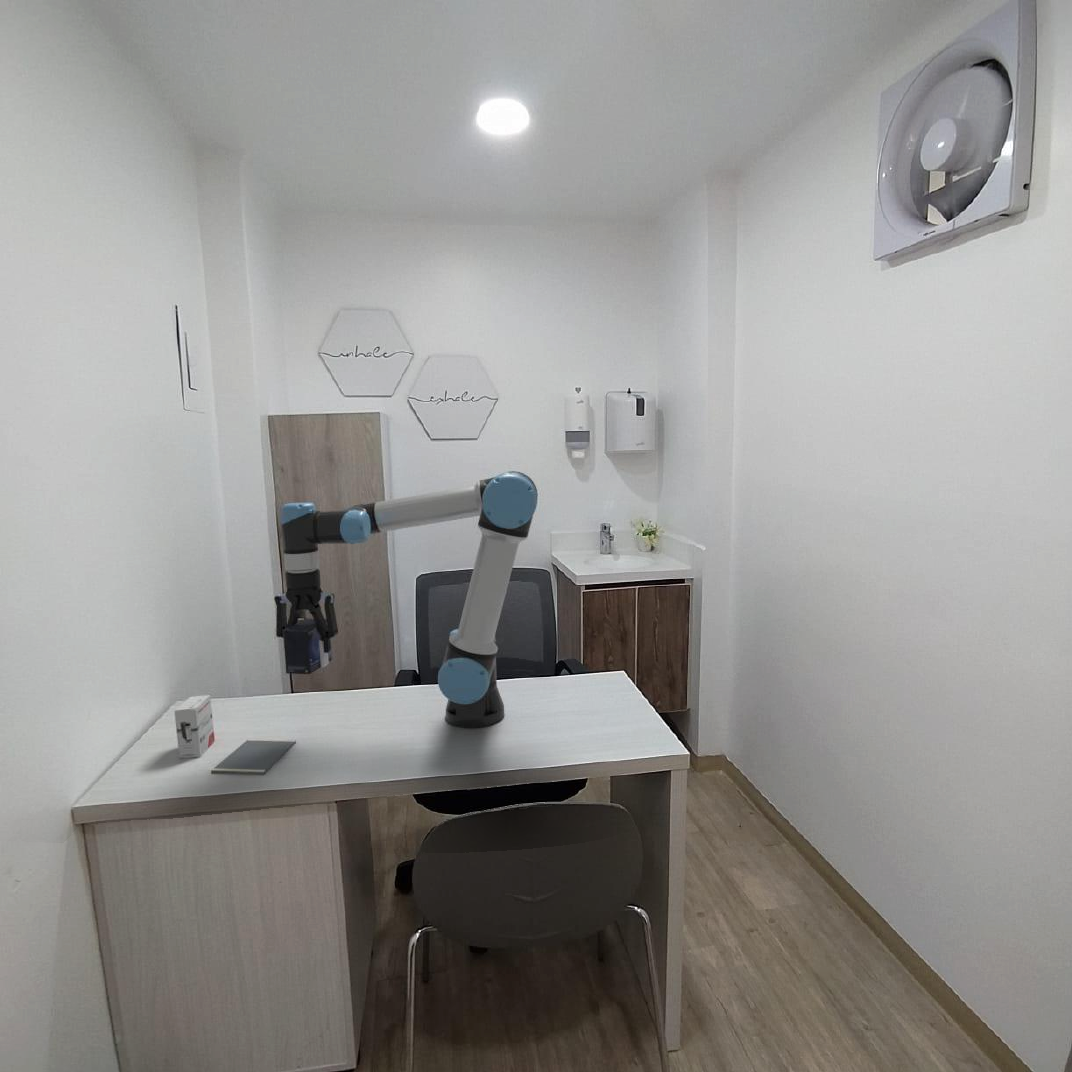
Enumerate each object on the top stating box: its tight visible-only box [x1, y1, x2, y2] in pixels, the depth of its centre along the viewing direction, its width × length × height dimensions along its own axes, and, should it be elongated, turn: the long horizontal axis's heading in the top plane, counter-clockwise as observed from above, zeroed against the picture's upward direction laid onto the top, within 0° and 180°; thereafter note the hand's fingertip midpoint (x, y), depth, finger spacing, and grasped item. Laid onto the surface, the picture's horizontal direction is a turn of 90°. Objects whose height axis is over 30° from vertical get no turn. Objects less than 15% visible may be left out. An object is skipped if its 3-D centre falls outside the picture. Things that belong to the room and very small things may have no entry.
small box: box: [282, 617, 333, 675], centre depth 151 cm, size 11×6×10 cm, turn 169°
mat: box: [210, 738, 297, 776], centre depth 146 cm, size 12×15×1 cm
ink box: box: [173, 694, 216, 759], centre depth 150 cm, size 9×5×12 cm, turn 5°
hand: (309, 665), depth 152 cm, fingers closed on small box, 7 cm apart
